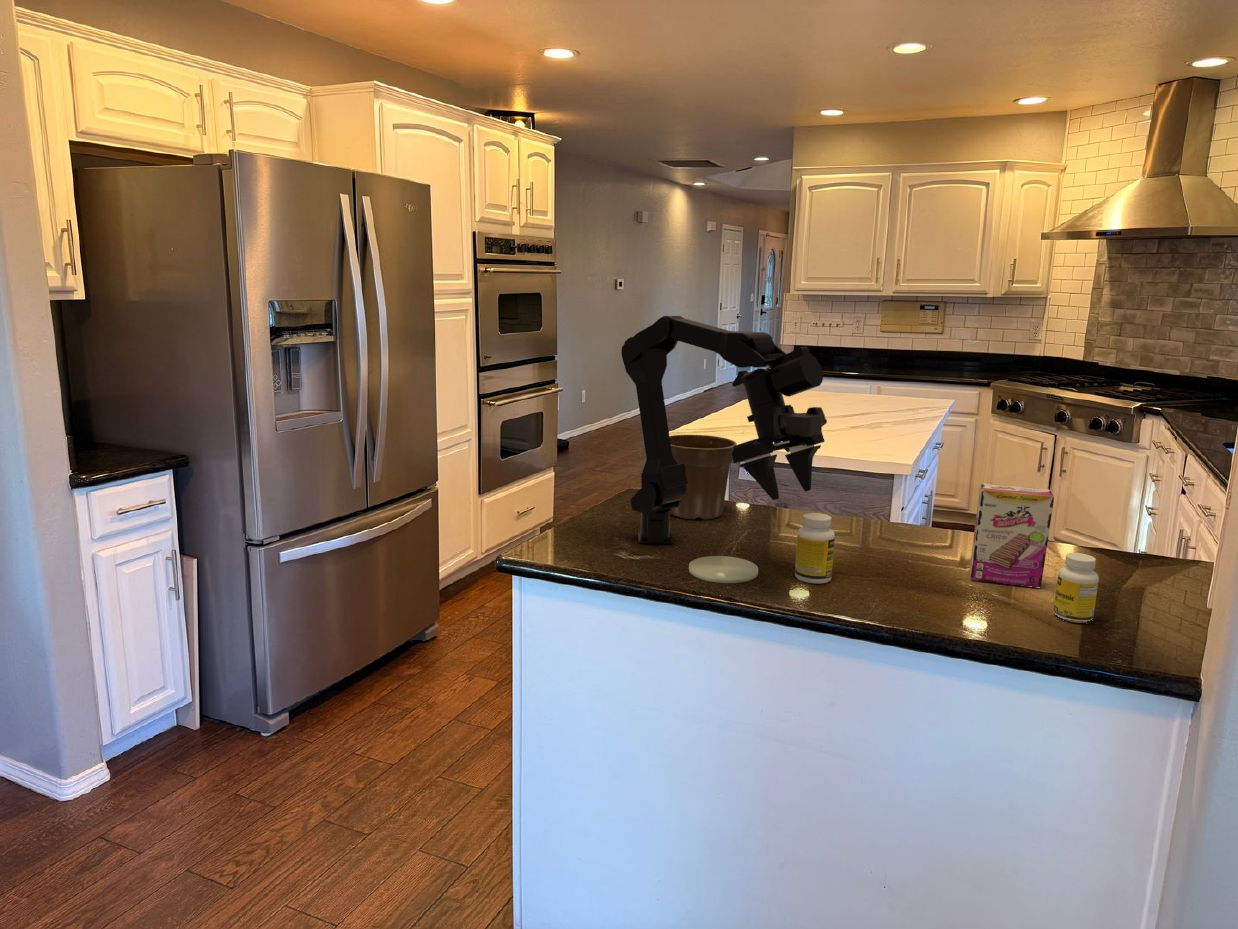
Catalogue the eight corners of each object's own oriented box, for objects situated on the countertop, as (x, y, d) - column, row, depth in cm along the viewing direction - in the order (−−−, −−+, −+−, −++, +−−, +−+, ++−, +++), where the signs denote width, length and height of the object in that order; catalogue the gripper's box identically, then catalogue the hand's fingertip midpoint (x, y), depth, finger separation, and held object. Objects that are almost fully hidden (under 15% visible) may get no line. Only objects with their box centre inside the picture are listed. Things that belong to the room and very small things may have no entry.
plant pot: (745, 511, 185) (749, 439, 181) (713, 527, 171) (716, 451, 168) (680, 500, 193) (683, 431, 190) (645, 515, 180) (646, 441, 176)
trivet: (685, 559, 151) (686, 555, 151) (751, 560, 151) (752, 556, 151) (692, 582, 139) (692, 578, 139) (763, 583, 139) (763, 579, 139)
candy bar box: (970, 581, 142) (980, 488, 139) (968, 572, 147) (978, 482, 143) (1042, 590, 139) (1055, 495, 135) (1038, 580, 143) (1050, 488, 140)
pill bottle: (832, 586, 139) (837, 522, 137) (794, 583, 140) (798, 519, 138) (830, 574, 145) (835, 512, 142) (794, 571, 146) (798, 510, 144)
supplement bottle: (1045, 611, 130) (1053, 551, 128) (1078, 610, 130) (1086, 550, 128) (1066, 625, 124) (1075, 562, 122) (1100, 624, 125) (1110, 562, 123)
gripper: (771, 395, 127) (799, 494, 126) (837, 386, 140) (863, 476, 139) (718, 415, 135) (743, 508, 134) (784, 405, 148) (808, 490, 147)
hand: (792, 495), depth 138 cm, fingers open, 9 cm apart
